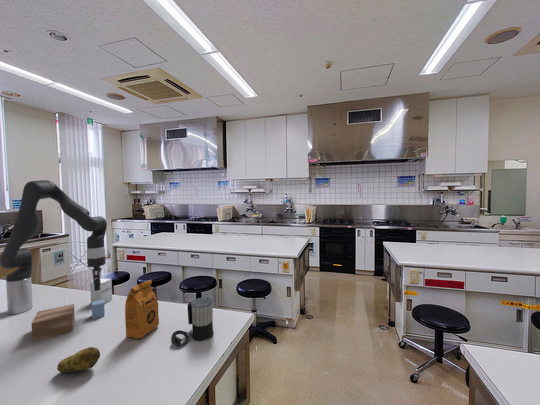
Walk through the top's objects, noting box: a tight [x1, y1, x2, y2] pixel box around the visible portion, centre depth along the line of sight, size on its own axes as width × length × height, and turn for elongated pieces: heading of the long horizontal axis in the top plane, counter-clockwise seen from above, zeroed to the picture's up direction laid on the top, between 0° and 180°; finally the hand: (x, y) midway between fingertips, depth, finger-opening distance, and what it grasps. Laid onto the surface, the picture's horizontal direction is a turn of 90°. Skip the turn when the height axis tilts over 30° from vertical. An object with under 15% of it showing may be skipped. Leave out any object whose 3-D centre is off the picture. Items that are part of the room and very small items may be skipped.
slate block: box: [91, 299, 106, 320], centre depth 121 cm, size 5×5×7 cm
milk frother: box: [170, 296, 215, 348], centre depth 100 cm, size 14×16×15 cm
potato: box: [56, 346, 101, 374], centre depth 82 cm, size 8×13×8 cm, turn 71°
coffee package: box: [124, 279, 160, 339], centre depth 105 cm, size 10×12×22 cm
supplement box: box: [89, 278, 113, 305], centre depth 136 cm, size 7×7×13 cm
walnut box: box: [31, 303, 76, 343], centre depth 108 cm, size 13×13×8 cm
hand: (97, 287), depth 120 cm, fingers open, 8 cm apart
